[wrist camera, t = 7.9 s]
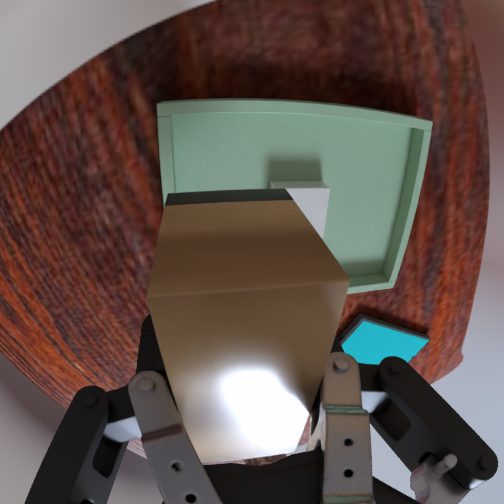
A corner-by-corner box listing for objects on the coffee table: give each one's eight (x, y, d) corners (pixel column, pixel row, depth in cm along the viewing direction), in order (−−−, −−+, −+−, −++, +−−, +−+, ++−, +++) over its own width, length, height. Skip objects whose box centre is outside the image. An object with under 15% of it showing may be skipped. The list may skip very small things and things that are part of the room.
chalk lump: (269, 181, 21) (274, 188, 20) (322, 180, 22) (330, 187, 21) (267, 231, 24) (271, 241, 22) (316, 229, 24) (323, 238, 23)
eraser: (167, 192, 11) (145, 295, 6) (285, 187, 12) (351, 279, 7) (191, 365, 16) (197, 463, 11) (270, 358, 17) (295, 451, 12)
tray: (160, 101, 18) (156, 103, 16) (417, 116, 21) (433, 121, 19) (177, 293, 26) (177, 310, 24) (383, 275, 29) (393, 287, 27)
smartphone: (362, 317, 30) (431, 339, 36) (359, 312, 31) (428, 335, 37) (321, 363, 33) (396, 374, 39) (319, 357, 34) (394, 370, 39)
